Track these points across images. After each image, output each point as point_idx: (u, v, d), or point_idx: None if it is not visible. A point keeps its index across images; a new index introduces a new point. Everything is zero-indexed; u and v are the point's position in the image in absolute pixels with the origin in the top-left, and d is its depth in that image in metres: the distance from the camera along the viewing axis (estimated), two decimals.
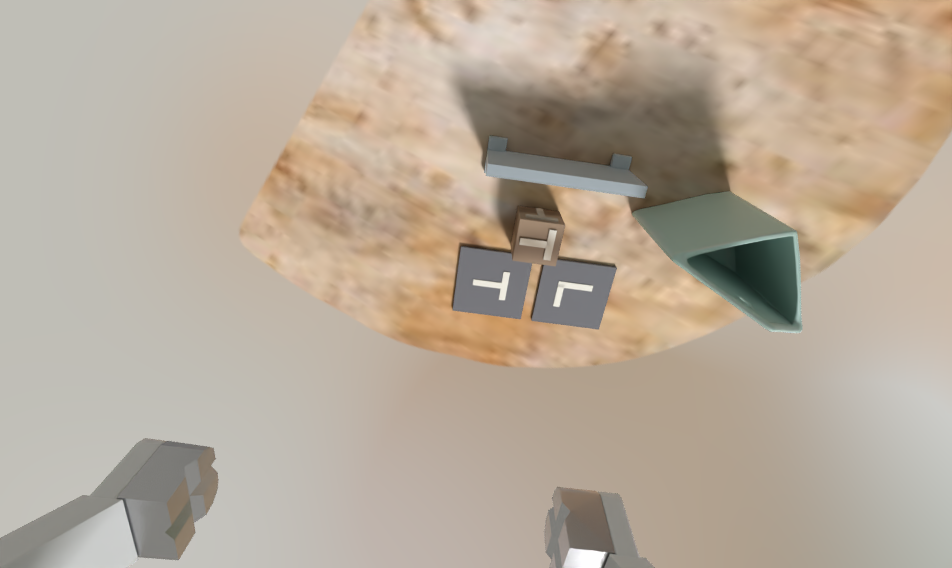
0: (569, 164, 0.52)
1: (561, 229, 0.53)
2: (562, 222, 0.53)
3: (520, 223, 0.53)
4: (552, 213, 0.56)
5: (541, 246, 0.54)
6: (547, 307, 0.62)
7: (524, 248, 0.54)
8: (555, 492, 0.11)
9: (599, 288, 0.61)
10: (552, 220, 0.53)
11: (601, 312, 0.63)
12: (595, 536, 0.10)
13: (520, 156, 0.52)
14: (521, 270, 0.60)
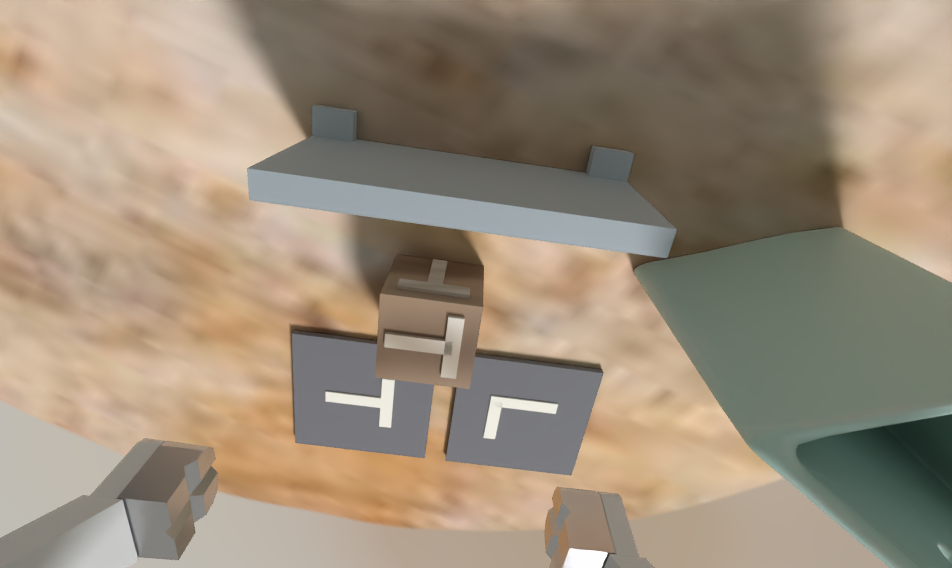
0: (490, 169, 0.23)
1: (475, 316, 0.23)
2: (479, 298, 0.24)
3: (381, 303, 0.23)
4: (467, 271, 0.27)
5: (434, 350, 0.24)
6: (473, 439, 0.33)
7: (397, 353, 0.25)
8: (555, 492, 0.11)
9: (570, 408, 0.32)
10: (456, 294, 0.24)
11: (575, 447, 0.33)
12: (595, 536, 0.10)
13: (379, 151, 0.23)
14: None
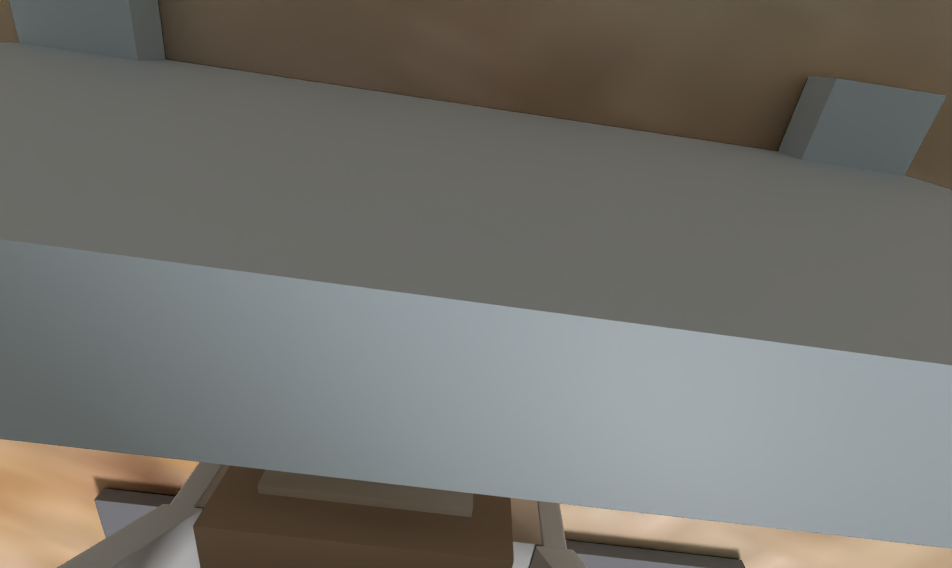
0: (542, 135, 0.07)
1: None
2: (500, 513, 0.08)
3: (204, 547, 0.08)
4: None
5: None
6: None
7: None
8: None
9: None
10: (433, 508, 0.08)
11: None
12: (524, 528, 0.10)
13: (191, 78, 0.07)
14: None
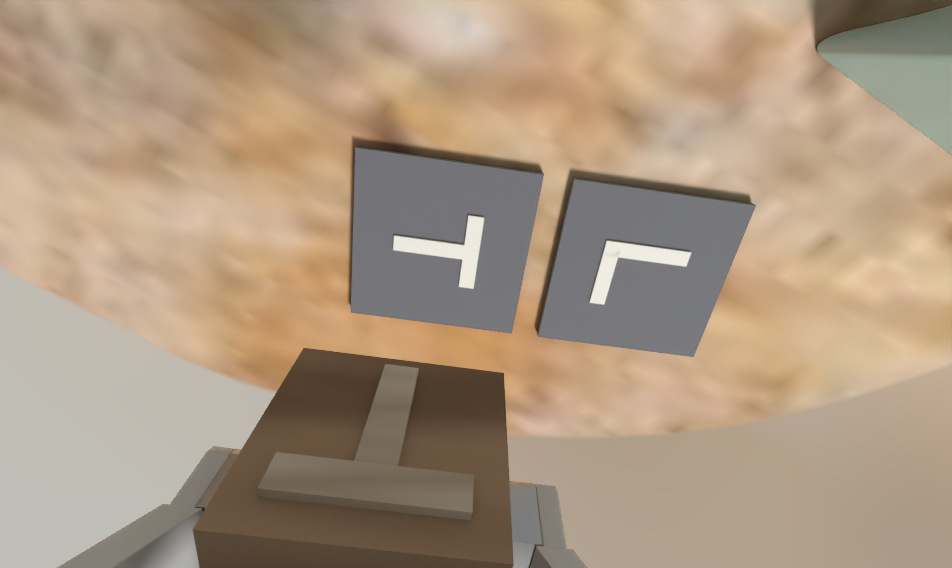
0: None
1: None
2: (500, 516, 0.08)
3: (204, 551, 0.08)
4: (466, 399, 0.11)
5: None
6: (576, 305, 0.26)
7: None
8: None
9: (705, 259, 0.25)
10: (433, 511, 0.08)
11: (704, 316, 0.26)
12: (524, 528, 0.10)
13: None
14: (514, 211, 0.24)
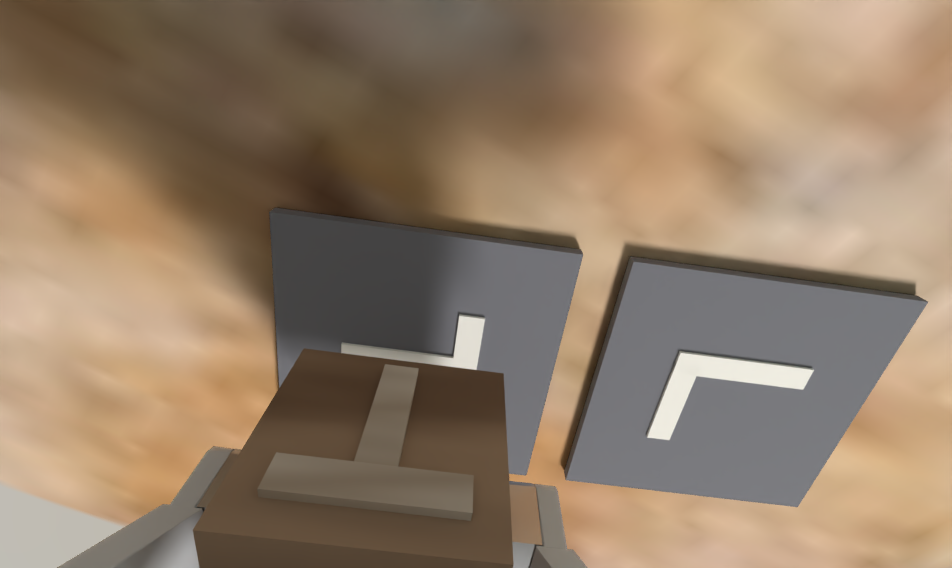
0: None
1: None
2: (500, 517, 0.08)
3: (204, 551, 0.08)
4: (466, 399, 0.11)
5: None
6: (626, 439, 0.17)
7: None
8: None
9: (834, 378, 0.16)
10: (433, 511, 0.08)
11: (821, 456, 0.17)
12: (524, 528, 0.10)
13: None
14: (533, 309, 0.15)
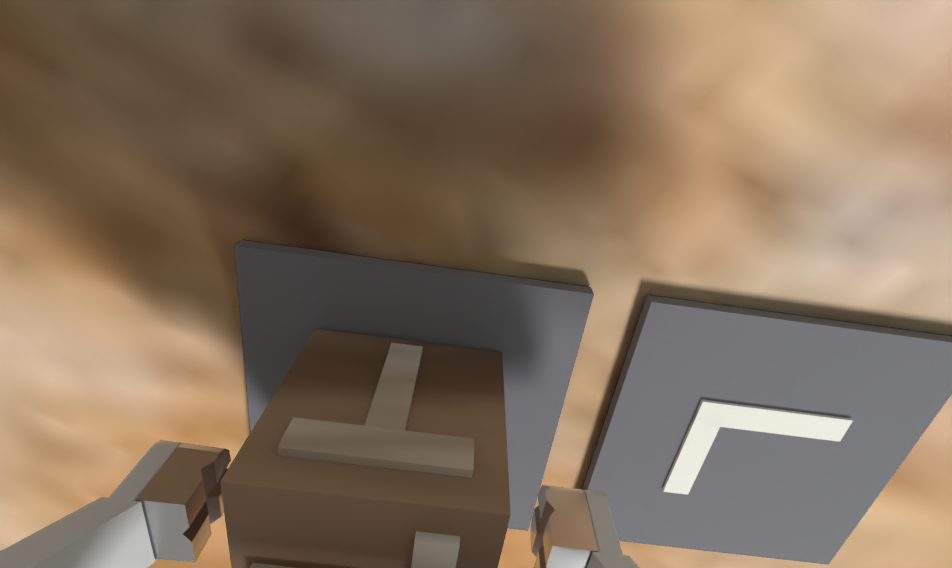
0: None
1: (488, 534, 0.09)
2: (498, 475, 0.09)
3: (230, 502, 0.08)
4: (467, 375, 0.12)
5: None
6: (639, 493, 0.15)
7: None
8: (541, 490, 0.11)
9: (875, 429, 0.14)
10: (437, 469, 0.09)
11: (856, 511, 0.15)
12: (579, 534, 0.10)
13: None
14: (537, 354, 0.13)
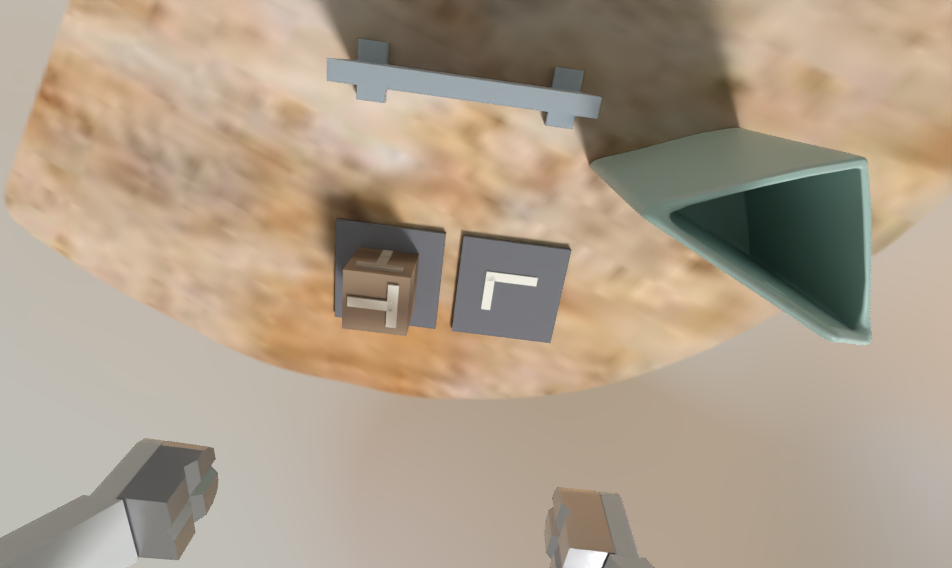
0: (482, 78, 0.33)
1: (405, 284, 0.36)
2: (409, 273, 0.36)
3: (344, 275, 0.36)
4: (406, 257, 0.39)
5: (380, 308, 0.37)
6: (473, 310, 0.42)
7: (356, 310, 0.37)
8: (555, 492, 0.11)
9: (547, 281, 0.41)
10: (394, 270, 0.36)
11: (552, 317, 0.43)
12: (595, 536, 0.10)
13: (405, 67, 0.33)
14: (430, 255, 0.40)
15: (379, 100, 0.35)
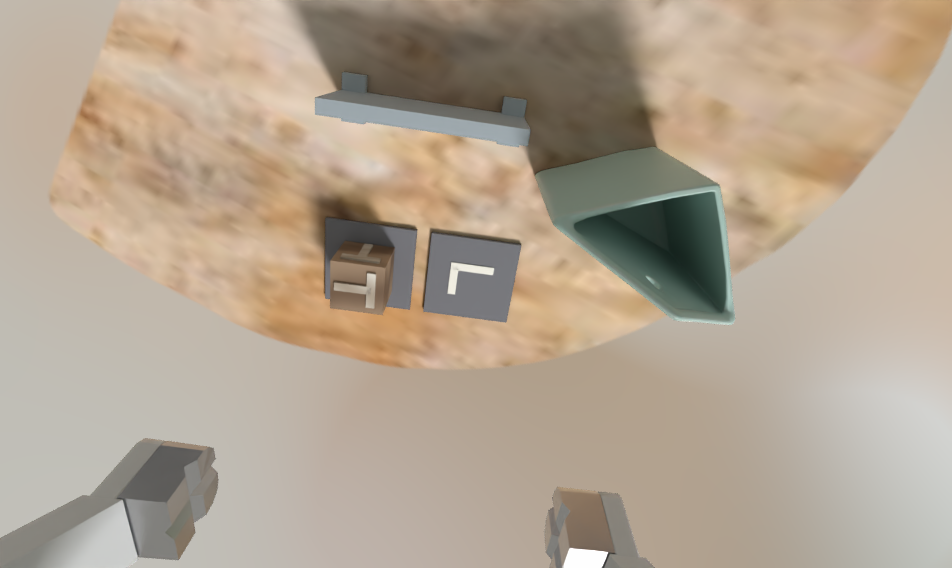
0: (442, 107, 0.40)
1: (381, 272, 0.44)
2: (385, 263, 0.45)
3: (331, 265, 0.44)
4: (383, 250, 0.47)
5: (361, 292, 0.45)
6: (441, 294, 0.51)
7: (341, 293, 0.45)
8: (555, 492, 0.11)
9: (502, 271, 0.49)
10: (372, 261, 0.44)
11: (507, 301, 0.51)
12: (595, 536, 0.10)
13: (380, 97, 0.41)
14: (404, 248, 0.48)
15: (360, 122, 0.43)
